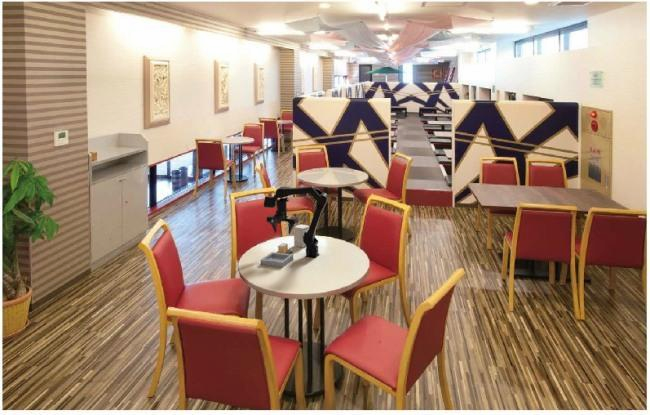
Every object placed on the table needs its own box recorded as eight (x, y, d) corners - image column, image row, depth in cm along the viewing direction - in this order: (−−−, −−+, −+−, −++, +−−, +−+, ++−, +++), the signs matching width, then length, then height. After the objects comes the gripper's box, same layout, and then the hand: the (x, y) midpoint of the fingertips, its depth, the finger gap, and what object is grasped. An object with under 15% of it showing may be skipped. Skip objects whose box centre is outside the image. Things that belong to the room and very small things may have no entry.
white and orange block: (287, 252, 316) (287, 243, 315) (283, 256, 311) (283, 246, 309) (282, 252, 318) (282, 242, 316) (278, 255, 312) (278, 245, 311)
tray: (293, 259, 304) (293, 254, 304) (282, 267, 292) (282, 262, 291) (272, 256, 309) (271, 252, 309) (260, 264, 297) (260, 259, 296)
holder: (292, 252, 317) (292, 250, 317) (285, 257, 308) (285, 255, 308) (281, 250, 320) (281, 248, 320) (273, 255, 311) (273, 253, 311)
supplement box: (302, 247, 325) (302, 228, 322) (293, 245, 329) (293, 226, 326) (310, 244, 331) (309, 225, 327) (301, 242, 335) (300, 223, 332)
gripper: (261, 210, 303) (262, 235, 307) (290, 213, 296) (290, 239, 300) (270, 205, 313) (271, 230, 317) (298, 208, 306) (298, 233, 310)
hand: (282, 233), depth 311 cm, fingers open, 9 cm apart
